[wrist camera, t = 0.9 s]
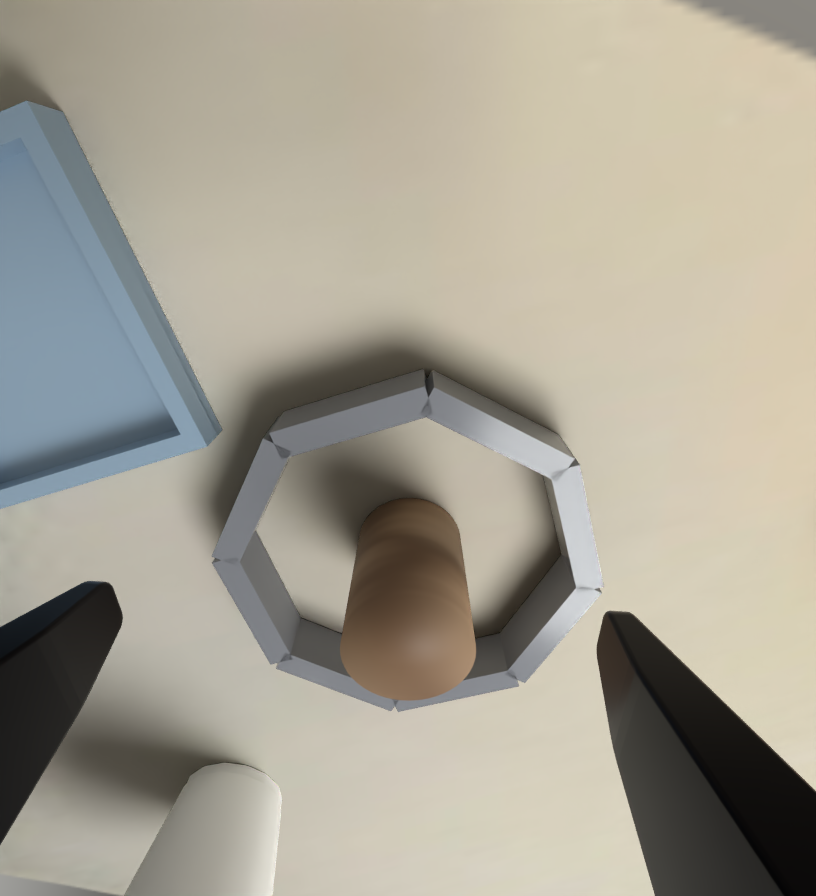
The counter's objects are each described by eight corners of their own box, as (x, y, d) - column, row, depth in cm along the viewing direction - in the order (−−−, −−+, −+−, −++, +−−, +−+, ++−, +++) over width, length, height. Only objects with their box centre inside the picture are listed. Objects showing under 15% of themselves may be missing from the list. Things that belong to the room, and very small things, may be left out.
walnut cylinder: (378, 592, 26) (366, 711, 20) (344, 513, 24) (319, 617, 18) (471, 569, 26) (490, 685, 19) (444, 486, 24) (455, 584, 17)
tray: (2, 497, 24) (-28, 517, 22) (-200, 221, 19) (-258, 221, 18) (222, 430, 23) (207, 446, 21) (62, 112, 18) (26, 100, 16)
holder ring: (316, 691, 29) (308, 730, 27) (182, 442, 23) (156, 466, 20) (601, 627, 27) (619, 664, 25) (540, 333, 21) (556, 346, 18)
